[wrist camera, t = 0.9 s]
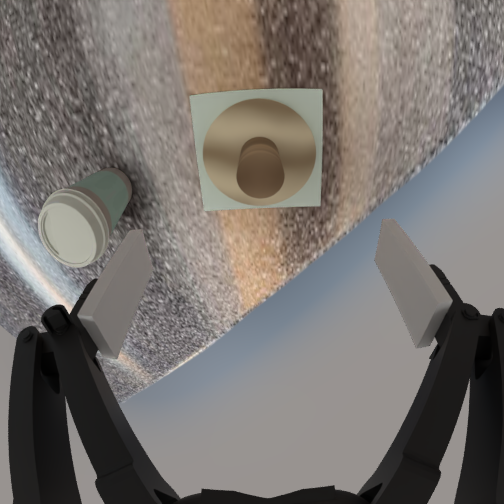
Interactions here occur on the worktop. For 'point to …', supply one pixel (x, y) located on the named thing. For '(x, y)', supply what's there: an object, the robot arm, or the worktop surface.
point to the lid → (259, 152)
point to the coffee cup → (84, 217)
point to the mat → (298, 99)
